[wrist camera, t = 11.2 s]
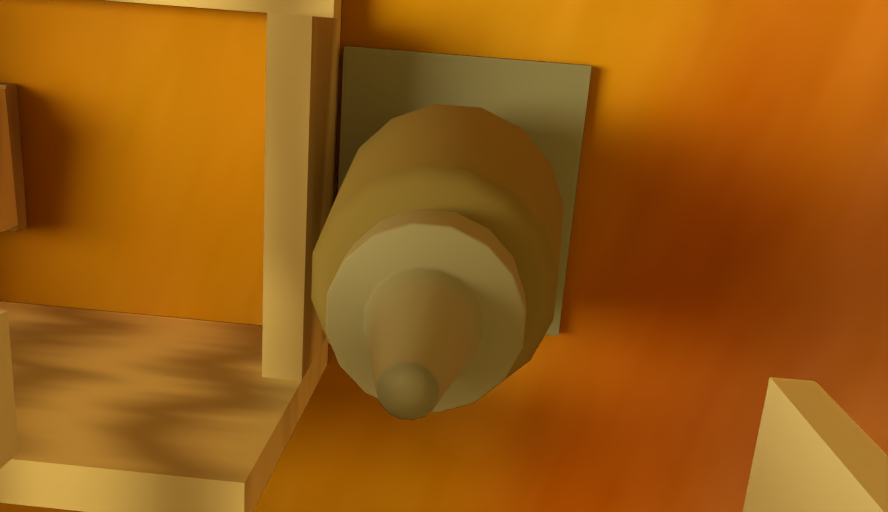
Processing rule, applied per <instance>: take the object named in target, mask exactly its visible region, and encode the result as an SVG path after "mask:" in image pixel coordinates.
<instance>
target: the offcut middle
mask: <svg viewBox="0 0 888 512" xmlns="http://www.w3.org/2000/svg"><path fill="white" fill-rule="evenodd" d="M17 225H18V220H17V209H16V199H15V188H14V178H13V167H12V157H11V146H10V136H9V125H8V115H7V105H6V94H5V88H0V232H2V231H5V230H7V229H10V228H12V227H15V226H17Z"/></svg>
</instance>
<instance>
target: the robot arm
mask: <svg viewBox="0 0 888 512" xmlns="http://www.w3.org/2000/svg"><path fill="white" fill-rule="evenodd" d="M18 453H19V450H18V437H17V424H16V411H15V398H14V385H13V372H12V359H11V346H10V333H9V320H8V310H0V469H1V468H2V467H3V466H4V465H5V464H6V463H8V462H9V461H10V460H11V459H12V458H13V457H14V456H15V455H16V454H18ZM743 512H888V456H887V455H886V454H885V453H884V452H883V450H882V449H881V448H880V447H879V446H878V445H877V444H876V443H875V442H874V441H873V440H872V439H871V438H870V437H869V436H868V435H867V434H866V433H865V432H864V431H863V430H862V429H861V428H860V427H859V426H858V425H857V424H856V423H855V422H854V421H853V419H852V418H851V417H850V416H849V415H848V414H847V413H846V412H845V411H844V410H843V409H842V408H841V407H840V406H839V405H838V404H837V403H836V402H835V401H834V400H833V399H832V398H831V397H830V396H829V395H828V394H827V393H826V392H825V391H824V390H823V388H822V387H821V386H820V385H819V384H818V383H817V382H816V381H809V380H797V379H786V378H775V377H770V379H769V384H768V389H767V393H766V398H765V403H764V408H763V413H762V418H761V423H760V428H759V433H758V438H757V443H756V448H755V453H754V458H753V463H752V468H751V473H750V477H749V482H748V487H747V492H746V497H745V502H744V507H743Z"/></svg>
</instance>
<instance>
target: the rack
mask: <svg viewBox="0 0 888 512" xmlns="http://www.w3.org/2000/svg"><path fill="white" fill-rule="evenodd" d="M107 1H120V2H133V3H145V4H158V5H171V6H184V7H196V8H209V9H222V10H235V11H247V12H260V13H267V48H266V119H265V190H264V261H263V326H259V325H248V324H237V323H227V322H216V321H206V320H195V319H184V318H174V317H163V316H153V315H142V314H132V313H121V312H110V311H100V310H89V309H79V308H68V307H57V306H47V305H36V304H26V303H15V302H4V301H0V310H8V320H9V333H10V346H11V359H12V372H13V385H14V398H15V411H16V424H17V437H18V450H19V453H18V454H16V455H15V456H14V457H13V458H12V459H11V460H10V461H9V462H8V463H6V464H5V465H4V466H3V467H2V468H1V469H0V503H8V504H17V505H27V506H36V507H46V508H55V509H65V510H74V511H84V512H253V510H254V508H255V506H256V504H257V502H258V500H259V498H260V496H261V494H262V492H263V490H264V488H265V486H266V484H267V482H268V480H269V478H270V476H271V474H272V472H273V471H274V469H275V467H276V465H277V463H278V461H279V459H280V457H281V455H282V453H283V451H284V449H285V447H286V445H287V443H288V441H289V439H290V437H291V435H292V433H293V431H294V429H295V427H296V425H297V423H298V421H299V419H300V417H301V416H302V414H303V412H304V410H305V408H306V406H307V404H308V402H309V400H310V398H311V396H312V394H313V392H314V390H315V388H316V386H317V384H318V382H319V380H320V378H321V376H322V374H323V372H324V370H325V368H326V366H327V364H328V341H327V338H326V335H325V333H324V330H323V328H322V325H321V323H320V320H319V318H318V315H317V312H316V310H315V307H314V305H313V302H312V300H311V292H312V255H313V251H314V248H315V246H316V244H317V241H318V239H319V237H320V234H321V232H322V230H323V227H324V225H325V223H326V220H327V218H328V216H329V213H330V211H331V208H332V206H333V204H334V186H335V160H336V134H337V108H338V82H339V56H340V30H341V4H342V0H107Z"/></svg>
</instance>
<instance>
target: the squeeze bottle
mask: <svg viewBox="0 0 888 512" xmlns="http://www.w3.org/2000/svg"><path fill="white" fill-rule="evenodd" d="M562 220H563V202H562V199H561V196H560V192H559V189H558V186H557V182H556V179H555V176H554V172H553V169H552V166H551V163H550V162H549V160H548V159H547V158H546V157H545V156H544V154H543V153H542V152H541V151H540V150H539V148H538V147H537V146H536V145H535V144H534V142H533V141H532V140H531V139H530V138H529V136H528V135H527V134H526V133H525V132H524V130H523V129H522V128H520V127H518V126H516V125H514V124H512V123H510V122H508V121H506V120H504V119H502V118H500V117H499V116H497V115H495V114H493V113H491V112H489V111H487V110H485V109H483V108H481V107H468V106H455V105H442V104H434V105H431V106H428V107H425V108H422V109H419V110H416V111H413V112H410V113H407V114H404V115H401V116H398V117H395V118H392V119H391V120H390V121H389V122H388V123H387V124H385V125H384V126H383V127H382V128H381V129H380V130H379V131H377V132H376V133H375V134H374V135H373V136H372V137H371V138H370V139H368V140H367V141H366V142H365V143H364V144H363V145H362V146H361V147H359V149H358V151H357V153H356V155H355V158H354V160H353V162H352V164H351V166H350V168H349V170H348V172H347V175H346V177H345V179H344V181H343V183H342V185H341V187H340V190H339V192H338V194H337V197H336V199H335V201H334V204H333V206H332V208H331V211H330V213H329V216H328V218H327V220H326V223H325V225H324V227H323V230H322V232H321V234H320V237H319V239H318V241H317V244H316V246H315V248H314V251H313V255H312V292H311V300H312V302H313V305H314V307H315V310H316V312H317V315H318V318H319V320H320V323H321V325H322V328H323V330H324V333H325V335H326V338H327V341H328V342H329V344H330V345H331V346H332V348H333V351H334V353H335V356H336V358H337V361H338V363H339V365H340V367H341V368H342V369H343V370H344V371H345V372H346V373H347V374H348V375H349V376H350V377H351V378H352V379H353V380H354V381H355V382H356V383H357V385H358V386H359V387H360V388H361V389H362V390H363V391H364V392H365V393H367V394H369V395H371V396H373V397H375V398H377V399H379V401H380V404H381V405H382V407H383V408H384V409H385V410H386V411H387V412H388V413H389V414H391V415H393V416H395V417H397V418H399V419H408V420H414V419H417V418H421V417H424V416H425V415H427V414H428V413H429V412H433V413H439V412H443V411H447V410H450V409H454V408H457V407H461V406H465V405H468V404H472V403H475V402H476V401H477V400H479V399H480V398H481V397H483V396H484V395H485V394H487V393H488V392H489V391H491V390H492V389H493V388H495V387H496V386H497V385H499V384H500V383H501V382H503V381H504V380H505V379H506V378H507V377H509V376H510V375H511V374H513V373H514V372H515V371H517V370H518V369H519V368H521V367H522V366H523V365H525V364H526V363H527V362H528V361H530V360H531V358H532V356H533V354H534V353H535V351H536V349H537V348H538V346H539V344H540V342H541V341H542V339H543V337H544V335H545V334H546V332H547V330H548V329H549V327H550V325H551V323H552V322H553V318H554V310H555V301H556V292H557V284H558V275H559V262H560V248H561V234H562Z"/></svg>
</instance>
